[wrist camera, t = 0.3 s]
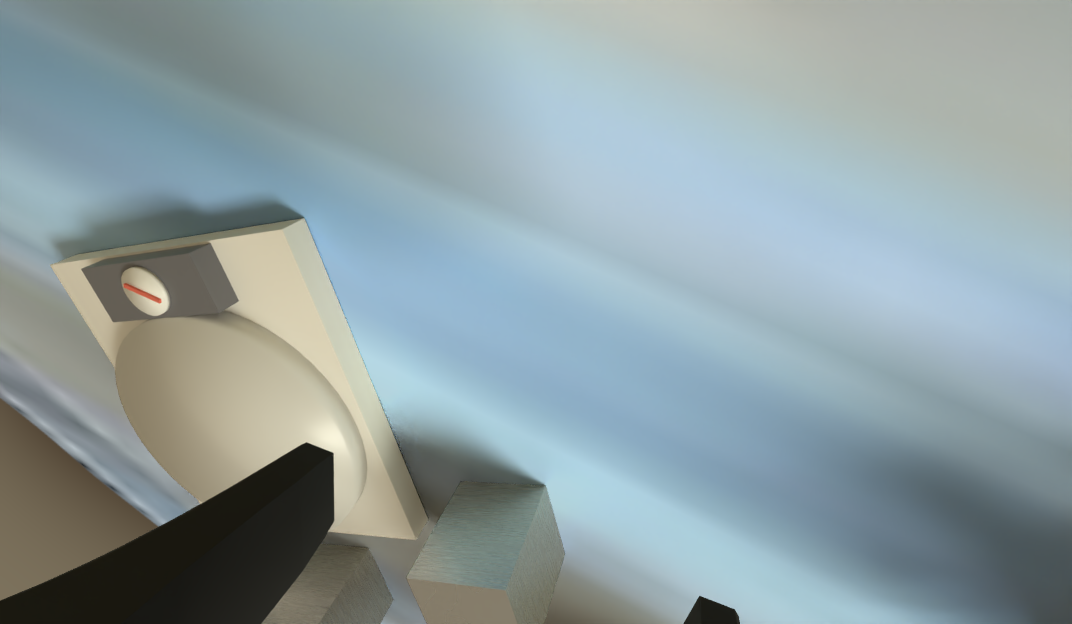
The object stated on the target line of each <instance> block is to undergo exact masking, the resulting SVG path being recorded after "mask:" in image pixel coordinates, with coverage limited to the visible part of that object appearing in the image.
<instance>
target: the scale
mask: <svg viewBox="0 0 1072 624" xmlns="http://www.w3.org/2000/svg"><path fill="white" fill-rule="evenodd" d="M50 266H51V267H52V269H53V271H54V272H55V274H56V275H57V277H58V279H59V280H60V282H61V283H62V285H63V287H64V288H65V290H66V291H67V293H68V294H69V296H70V298H71V299H72V301H73V302H74V304H75V306H76V307H77V309H78V310H79V312H80V314H81V315H82V317H83V318H84V320H85V321H86V323H87V325H88V326H89V328H90V329H91V331H92V333H93V334H94V336H95V337H96V339H97V341H98V342H99V344H100V345H101V347H102V349H103V350H104V352H105V353H106V355H107V356H108V358H109V360H110V361H111V363H112V364H113V366H114V368H115V375H116V384H117V388H118V393H119V397H120V400H121V402H122V405H123V408H124V411H125V413H126V415H127V417H128V419H129V421H130V423H131V425H132V427H133V428H134V430H135V432H136V433H137V435H138V437H139V438H140V440H141V441H142V442H143V444H144V445H145V447H146V448H147V450H148V451H149V452H150V453H151V455H152V456H153V457H154V458H155V459H156V461H157V462H158V463H159V464H160V465H161V466H162V467H163V468H164V470H165V471H166V472H167V473H168V474H169V475H170V476H171V477H172V478H173V479H174V480H176V481H177V482H178V483H179V484H180V485H181V486H182V487H183V488H184V489H186V490H187V491H188V492H189V493H190V494H192V495H193V496H194V497H195V498H197V500H198V501H199V503H200V504H201V503H203V502H205V501H207V500H208V499H210V498H212V497H214V496H215V495H217V494H219V493H221V492H222V491H224V490H226V489H228V488H229V487H231V486H233V485H234V484H236V483H238V482H240V481H241V480H243V479H245V478H246V477H248V476H250V475H251V474H253V473H255V472H256V471H258V470H260V469H261V468H263V467H265V466H266V465H268V464H270V463H271V462H273V461H275V460H276V459H278V458H280V457H281V456H283V455H285V454H286V453H288V452H290V451H291V450H293V449H295V448H296V447H298V446H300V445H301V444H304V443H306V442H307V443H310V444H312V445H315V446H318V447H320V448H323V449H325V450H328V451H330V452H333V453H334V522H333V524H332V526H331V527H330V529H329V531H328V532H337V533H348V534H358V535H369V536H379V537H390V538H400V539H410V540H417V538H418V536H419V535H420V533H421V531H422V530H423V528H424V526H425V525H426V523H427V521H428V518H427V515H426V513H425V510H424V508H423V506H422V503H421V501H420V498H419V496H418V493H417V491H416V489H415V486H414V484H413V481H412V479H411V476H410V474H409V472H408V469H407V467H406V464H405V462H404V459H403V457H402V455H401V452H400V450H399V447H398V445H397V442H396V440H395V437H394V435H393V433H392V430H391V428H390V425H389V423H388V420H387V418H386V416H385V413H384V411H383V408H382V406H381V403H380V401H379V399H378V396H377V394H376V391H375V389H374V386H373V384H372V382H371V379H370V377H369V374H368V372H367V369H366V367H365V365H364V362H363V360H362V357H361V355H360V352H359V350H358V347H357V345H356V343H355V340H354V338H353V335H352V333H351V330H350V328H349V326H348V323H347V321H346V318H345V316H344V313H343V311H342V309H341V306H340V304H339V301H338V299H337V296H336V294H335V292H334V289H333V287H332V284H331V282H330V279H329V277H328V274H327V272H326V270H325V267H324V265H323V262H322V260H321V257H320V255H319V253H318V250H317V248H316V245H315V243H314V240H313V238H312V236H311V233H310V231H309V228H308V226H307V223H306V221H305V219H304V218H302V219H295V220H289V221H283V222H277V223H270V224H264V225H258V226H252V227H245V228H239V229H233V230H227V231H220V232H214V233H208V234H202V235H195V236H189V237H183V238H177V239H170V240H164V241H158V242H152V243H145V244H139V245H133V246H127V247H120V248H114V249H108V250H102V251H95V252H89V253H83V254H77V255H74V256H72V257H69V258H67V259H64V260H62V261H59V262H56V263H54V264H51V265H50ZM328 532H327V533H328Z"/></svg>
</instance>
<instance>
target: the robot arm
mask: <svg viewBox="0 0 1072 624" xmlns="http://www.w3.org/2000/svg"><path fill="white" fill-rule="evenodd" d="M333 522H334V453H333V452H330V451H328V450H325V449H323V448H320V447H318V446H315V445H312V444H310V443H307V442H306V443H304V444H301V445H300V446H298V447H296V448H295V449H293V450H291V451H290V452H288V453H286V454H285V455H283V456H281V457H280V458H278V459H276V460H275V461H273V462H271V463H270V464H268V465H266V466H265V467H263V468H261V469H260V470H258V471H256V472H255V473H253V474H251V475H250V476H248V477H246V478H245V479H243V480H241V481H240V482H238V483H236V484H234V485H233V486H231V487H229V488H228V489H226V490H224V491H222V492H221V493H219V494H217V495H215V496H214V497H212V498H210V499H208V500H207V501H205V502H203V503H201V504H200V505H198V506H196V507H194V508H193V509H191V510H189V511H187V512H185V513H184V514H182V515H180V516H178V517H176V518H175V519H173V520H171V521H169V522H167V523H165V524H163V525H161V526H159V527H157V528H156V529H154V530H152V531H150V532H148V533H146V534H144V535H142V536H140V537H138V538H136V539H134V540H132V541H131V542H129V543H127V544H125V545H123V546H121V547H119V548H117V549H115V550H113V551H111V552H109V553H107V554H105V555H103V556H100V557H98V558H96V559H94V560H92V561H90V562H88V563H86V564H84V565H81V566H79V567H77V568H75V569H73V570H70V571H68V572H66V573H64V574H62V575H59V576H57V577H55V578H53V579H51V580H48V581H46V582H44V583H42V584H39V585H37V586H35V587H32V588H30V589H27V590H25V591H22V592H20V593H18V594H15V595H13V596H10V597H8V598H6V599H3V600H1V601H0V624H261V623H262V622H263V621H264V620H265V618H266V617H267V616H268V615H269V613H270V612H271V611H272V610H273V608H274V607H275V606H276V605H277V603H278V602H279V601H280V599H281V598H282V597H283V596H284V594H285V593H286V592H287V591H288V589H289V588H290V587H291V586H292V584H293V583H294V582H295V580H296V579H297V578H298V577H299V575H300V574H301V573H302V571H303V570H304V569H305V567H306V566H307V564H308V562H309V561H310V559H311V558H312V556H313V555H314V553H315V552H316V550H317V549H318V547H319V545H320V544H321V542H322V540H323V539H324V537H325V536H326V534H327V532H328V531H329V529H330V527H331V526H332V524H333ZM684 624H740V621H739V616H738V614H737V613H736V611H735V609H732V608H730V607H727V606H724V605H722V604H719V603H717V602H714V601H712V600H709V599H707V598H704V597H701V596H699V598H698V599H697V601H696V603H695V605H694V606H693V608H692V610H691V612H690V613H689V615H688V617H687V619H686V620H685V622H684Z"/></svg>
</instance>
